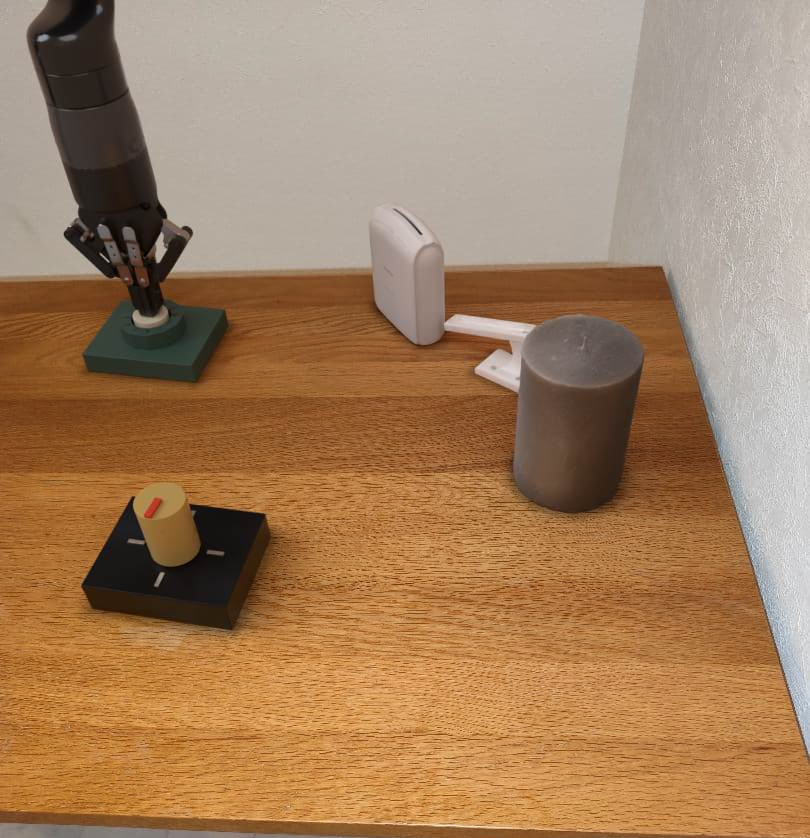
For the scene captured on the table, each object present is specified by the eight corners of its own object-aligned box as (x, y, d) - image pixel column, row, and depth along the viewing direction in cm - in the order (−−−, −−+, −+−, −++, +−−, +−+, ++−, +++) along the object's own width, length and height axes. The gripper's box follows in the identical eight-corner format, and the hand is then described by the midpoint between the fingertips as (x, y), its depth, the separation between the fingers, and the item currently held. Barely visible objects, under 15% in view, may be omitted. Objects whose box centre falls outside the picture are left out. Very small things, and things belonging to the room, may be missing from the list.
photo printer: (369, 304, 99) (361, 199, 90) (402, 293, 101) (398, 187, 91) (415, 352, 93) (412, 244, 84) (450, 339, 94) (450, 231, 85)
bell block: (88, 371, 93) (76, 339, 90) (126, 316, 99) (117, 284, 96) (196, 382, 91) (187, 350, 88) (228, 326, 97) (221, 294, 94)
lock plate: (91, 608, 72) (79, 584, 70) (140, 519, 78) (131, 494, 76) (232, 630, 70) (225, 606, 68) (271, 537, 76) (265, 511, 74)
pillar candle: (637, 502, 78) (669, 362, 66) (529, 522, 77) (543, 382, 65) (598, 430, 84) (621, 291, 73) (498, 447, 83) (506, 309, 72)
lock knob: (164, 525, 74) (146, 475, 69) (208, 534, 73) (193, 483, 68) (142, 561, 71) (122, 511, 67) (188, 570, 70) (171, 520, 66)
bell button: (131, 336, 92) (126, 321, 91) (144, 316, 95) (140, 301, 93) (163, 339, 92) (159, 324, 90) (176, 319, 94) (172, 304, 93)
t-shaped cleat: (600, 430, 84) (608, 384, 80) (432, 354, 93) (432, 309, 89) (622, 408, 86) (630, 362, 82) (455, 335, 95) (456, 291, 91)
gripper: (187, 130, 80) (223, 297, 93) (53, 122, 83) (107, 286, 96) (155, 169, 76) (198, 339, 89) (14, 160, 78) (76, 327, 91)
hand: (150, 311), depth 92 cm, fingers closed
